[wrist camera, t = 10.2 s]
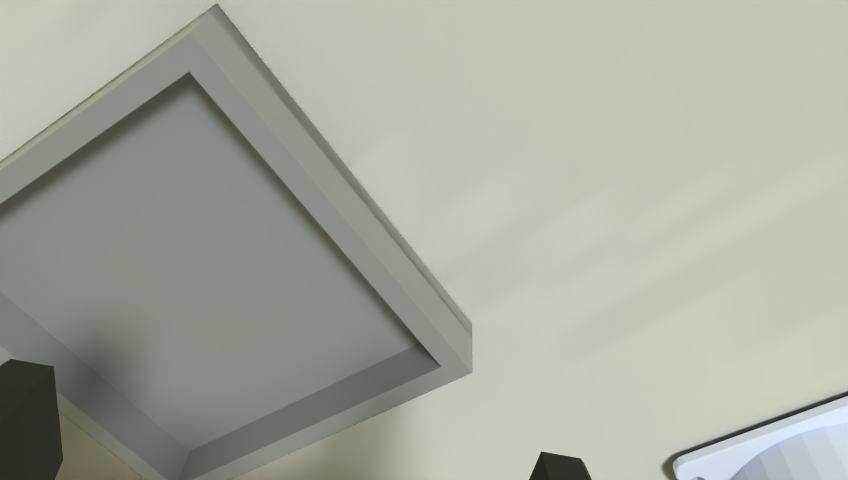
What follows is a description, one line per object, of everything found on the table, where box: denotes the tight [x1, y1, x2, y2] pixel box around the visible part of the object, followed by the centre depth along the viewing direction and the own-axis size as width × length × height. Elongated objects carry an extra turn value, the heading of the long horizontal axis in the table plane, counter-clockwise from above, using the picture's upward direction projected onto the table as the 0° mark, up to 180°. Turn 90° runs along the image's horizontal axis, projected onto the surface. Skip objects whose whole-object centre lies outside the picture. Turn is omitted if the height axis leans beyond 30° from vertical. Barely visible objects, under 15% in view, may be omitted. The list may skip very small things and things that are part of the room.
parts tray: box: [0, 4, 472, 480], centre depth 21 cm, size 11×11×2 cm
